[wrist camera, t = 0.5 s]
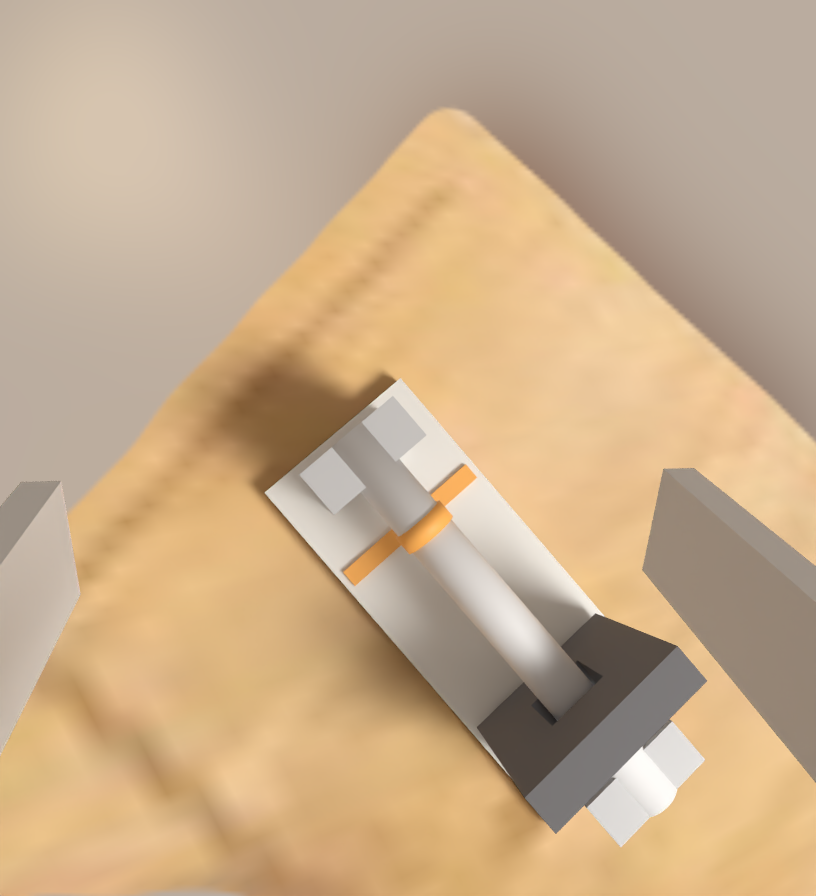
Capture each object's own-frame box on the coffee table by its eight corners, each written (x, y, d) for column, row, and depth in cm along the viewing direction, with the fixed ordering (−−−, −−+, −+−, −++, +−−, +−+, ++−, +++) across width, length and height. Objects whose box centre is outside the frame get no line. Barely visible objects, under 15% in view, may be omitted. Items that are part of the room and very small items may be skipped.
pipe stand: (673, 701, 49) (752, 746, 40) (551, 823, 47) (606, 900, 38) (398, 381, 48) (415, 352, 39) (265, 492, 47) (251, 490, 38)
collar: (618, 639, 47) (707, 680, 36) (500, 754, 45) (555, 833, 34) (595, 613, 47) (677, 646, 36) (476, 727, 45) (524, 797, 34)
